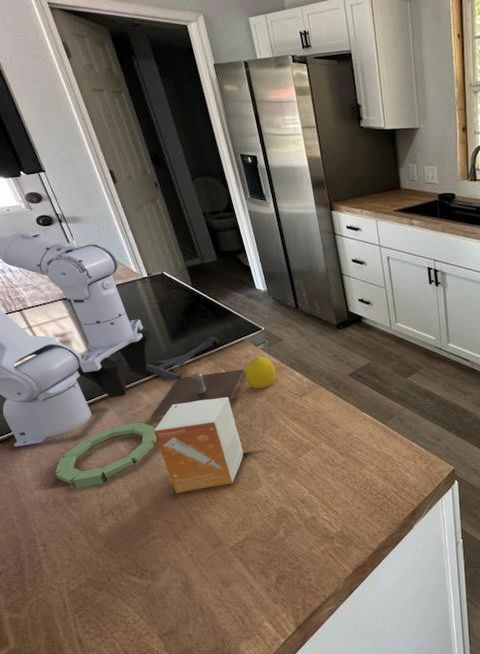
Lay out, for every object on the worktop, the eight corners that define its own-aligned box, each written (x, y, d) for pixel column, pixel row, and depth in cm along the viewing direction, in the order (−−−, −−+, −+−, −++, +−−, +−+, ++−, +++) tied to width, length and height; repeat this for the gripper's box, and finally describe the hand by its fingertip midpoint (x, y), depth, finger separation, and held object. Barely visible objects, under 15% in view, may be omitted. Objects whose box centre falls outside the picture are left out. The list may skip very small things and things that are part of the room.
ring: (38, 495, 65) (34, 487, 64) (88, 438, 76) (84, 431, 75) (138, 476, 69) (135, 468, 68) (171, 424, 80) (169, 417, 79)
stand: (151, 421, 81) (143, 398, 79) (179, 381, 92) (172, 361, 90) (227, 409, 84) (221, 387, 82) (245, 372, 96) (240, 352, 94)
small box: (175, 495, 66) (151, 431, 61) (192, 464, 71) (171, 403, 66) (233, 484, 68) (214, 421, 63) (245, 455, 73) (228, 395, 69)
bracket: (238, 350, 104) (235, 341, 103) (175, 384, 91) (171, 373, 90) (199, 339, 109) (197, 330, 108) (134, 369, 96) (131, 359, 95)
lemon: (265, 398, 88) (258, 366, 85) (243, 394, 89) (235, 363, 86) (284, 382, 93) (277, 352, 90) (262, 379, 94) (255, 349, 91)
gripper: (107, 333, 65) (135, 403, 70) (151, 296, 78) (172, 357, 83) (51, 340, 63) (84, 411, 68) (106, 301, 76) (130, 363, 81)
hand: (129, 382), depth 75 cm, fingers open, 7 cm apart
